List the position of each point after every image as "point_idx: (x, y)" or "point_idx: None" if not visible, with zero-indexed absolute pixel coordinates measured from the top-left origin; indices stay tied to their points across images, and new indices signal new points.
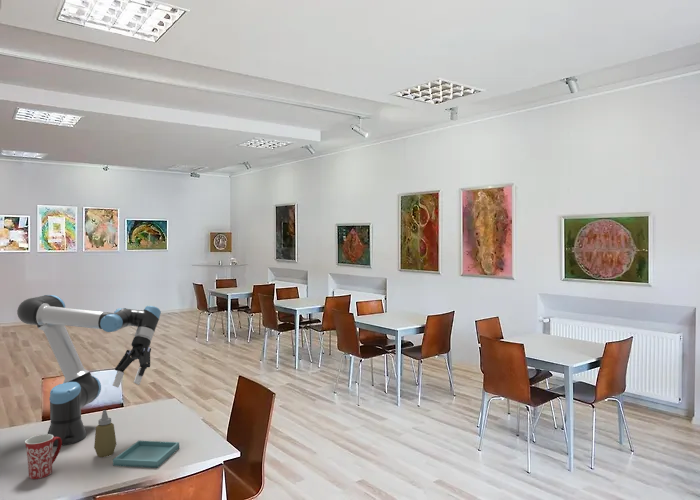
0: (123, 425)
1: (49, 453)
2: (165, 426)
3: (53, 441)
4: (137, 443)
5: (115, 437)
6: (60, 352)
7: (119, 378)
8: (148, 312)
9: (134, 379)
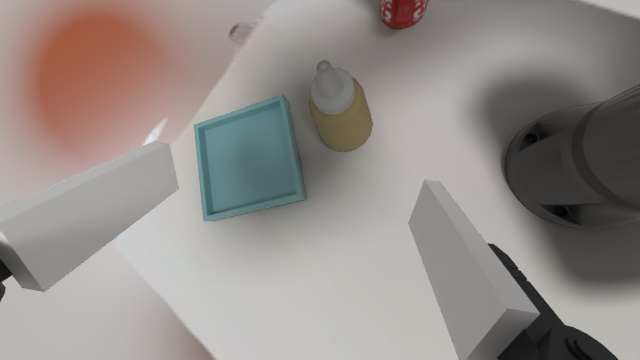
0: None
1: None
2: (334, 349)
3: None
4: (295, 185)
5: (322, 137)
6: None
7: (439, 258)
8: None
9: (149, 152)
